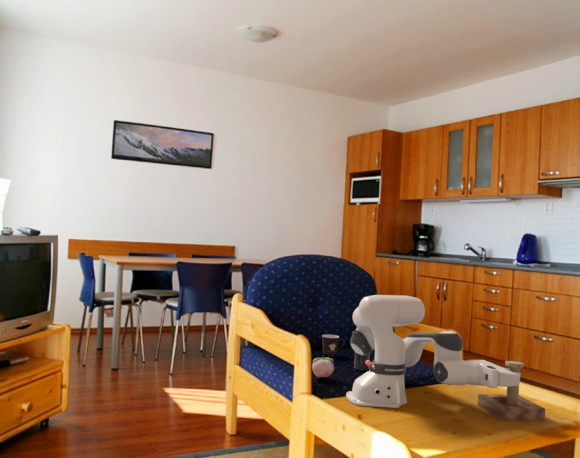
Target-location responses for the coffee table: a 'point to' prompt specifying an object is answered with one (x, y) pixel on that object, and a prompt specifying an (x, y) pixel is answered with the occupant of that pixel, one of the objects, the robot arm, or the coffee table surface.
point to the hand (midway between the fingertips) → (515, 372)
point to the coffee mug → (331, 344)
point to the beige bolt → (513, 390)
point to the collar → (511, 408)
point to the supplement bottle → (361, 361)
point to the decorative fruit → (322, 367)
